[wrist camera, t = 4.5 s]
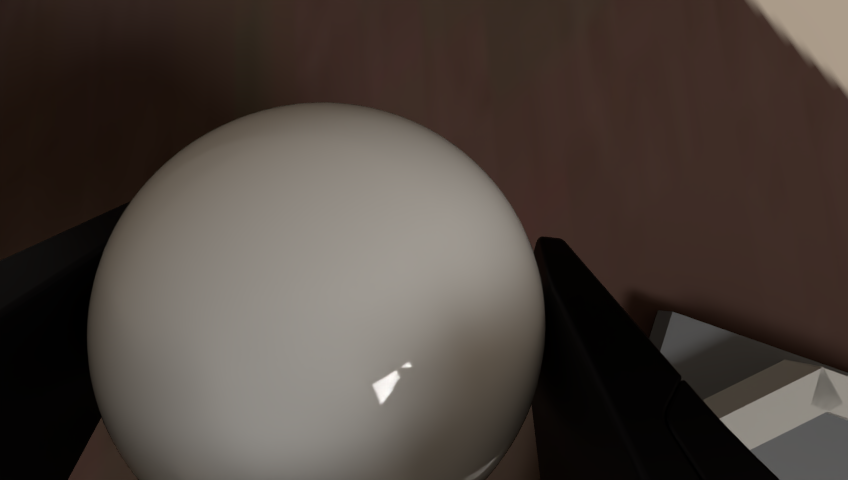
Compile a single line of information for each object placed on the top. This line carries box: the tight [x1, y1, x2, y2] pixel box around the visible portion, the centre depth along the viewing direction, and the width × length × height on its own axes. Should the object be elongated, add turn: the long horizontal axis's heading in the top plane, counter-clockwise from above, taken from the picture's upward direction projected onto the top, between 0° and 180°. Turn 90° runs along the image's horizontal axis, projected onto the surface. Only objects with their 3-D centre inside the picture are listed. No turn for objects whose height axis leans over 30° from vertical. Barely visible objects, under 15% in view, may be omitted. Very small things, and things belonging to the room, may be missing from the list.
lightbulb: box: [87, 102, 546, 480], centre depth 11 cm, size 6×6×11 cm
